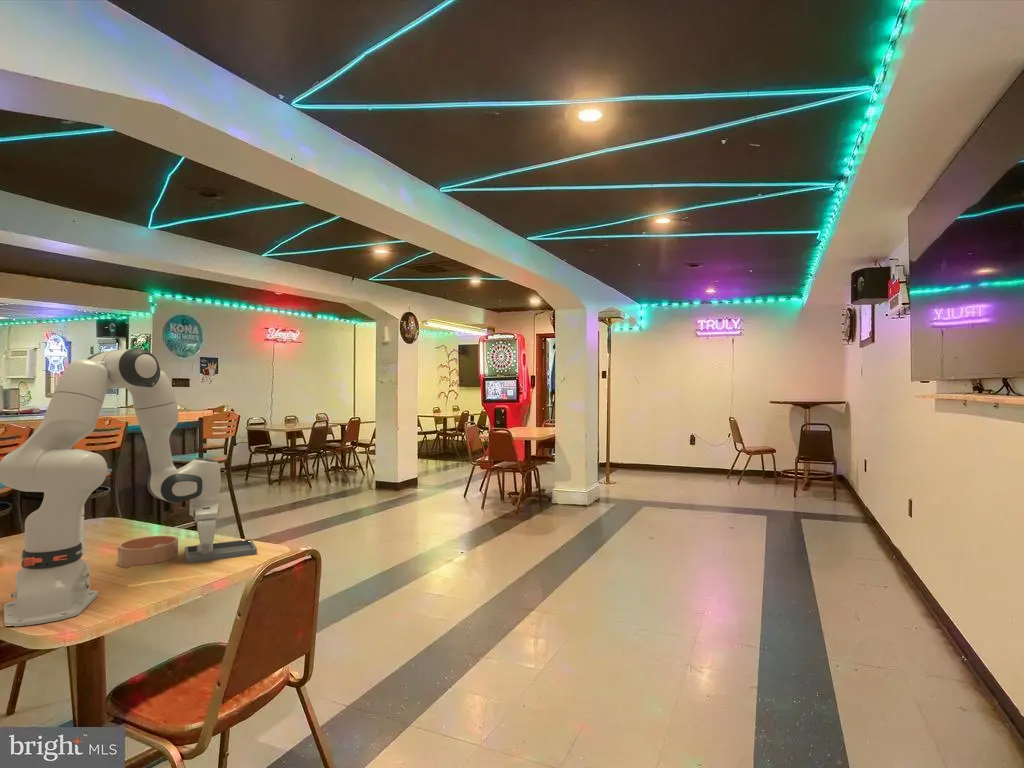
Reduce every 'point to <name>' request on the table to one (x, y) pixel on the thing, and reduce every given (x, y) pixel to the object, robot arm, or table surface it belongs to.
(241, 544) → the parts tray
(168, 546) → the terracotta bowl
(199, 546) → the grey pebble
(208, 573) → the table surface
